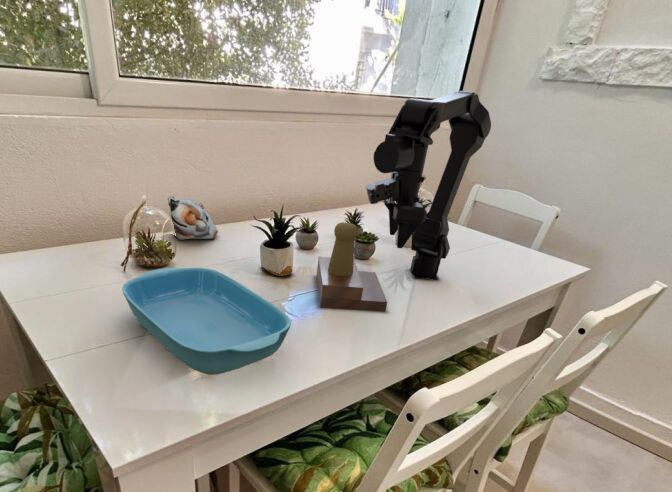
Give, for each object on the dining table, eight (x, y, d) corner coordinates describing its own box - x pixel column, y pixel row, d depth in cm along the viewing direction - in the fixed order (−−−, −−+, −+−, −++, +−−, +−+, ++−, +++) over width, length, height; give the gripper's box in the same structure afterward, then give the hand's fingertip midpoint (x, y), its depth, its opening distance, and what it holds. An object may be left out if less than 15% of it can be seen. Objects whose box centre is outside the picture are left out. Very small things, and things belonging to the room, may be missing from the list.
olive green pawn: (353, 268, 111) (360, 221, 104) (352, 277, 106) (360, 229, 100) (328, 265, 111) (334, 218, 105) (326, 274, 106) (332, 225, 100)
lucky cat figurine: (227, 236, 138) (222, 200, 126) (198, 259, 134) (190, 224, 121) (191, 211, 142) (184, 173, 129) (162, 233, 137) (151, 195, 125)
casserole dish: (310, 360, 85) (314, 325, 81) (205, 401, 72) (203, 363, 68) (205, 289, 107) (204, 259, 103) (109, 311, 94) (104, 278, 90)
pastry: (298, 276, 118) (299, 261, 116) (275, 279, 115) (276, 264, 113) (280, 263, 124) (281, 249, 122) (258, 266, 121) (258, 252, 119)
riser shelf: (373, 281, 120) (377, 260, 116) (385, 312, 105) (390, 289, 102) (316, 277, 119) (318, 256, 115) (320, 307, 104) (322, 284, 101)
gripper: (366, 157, 105) (356, 226, 114) (379, 175, 90) (366, 253, 99) (414, 161, 106) (400, 229, 115) (435, 179, 91) (417, 256, 100)
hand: (395, 241), depth 107 cm, fingers open, 9 cm apart
